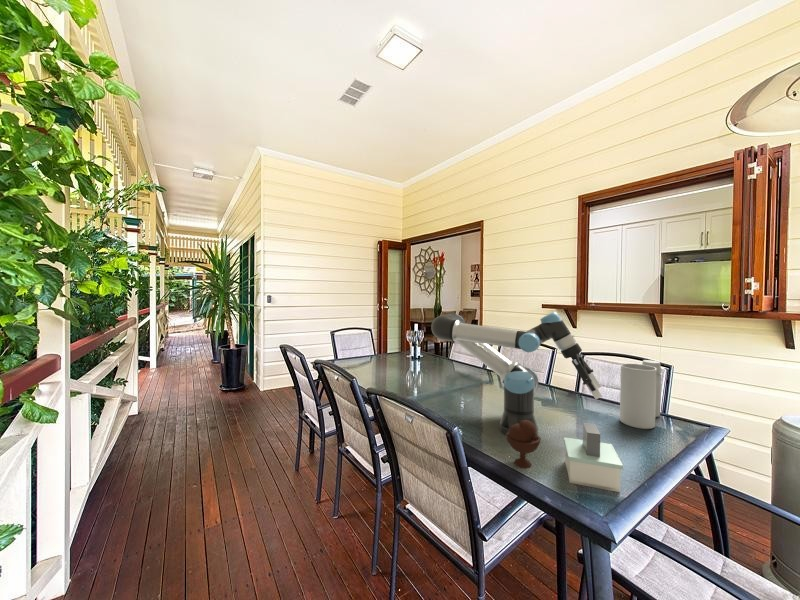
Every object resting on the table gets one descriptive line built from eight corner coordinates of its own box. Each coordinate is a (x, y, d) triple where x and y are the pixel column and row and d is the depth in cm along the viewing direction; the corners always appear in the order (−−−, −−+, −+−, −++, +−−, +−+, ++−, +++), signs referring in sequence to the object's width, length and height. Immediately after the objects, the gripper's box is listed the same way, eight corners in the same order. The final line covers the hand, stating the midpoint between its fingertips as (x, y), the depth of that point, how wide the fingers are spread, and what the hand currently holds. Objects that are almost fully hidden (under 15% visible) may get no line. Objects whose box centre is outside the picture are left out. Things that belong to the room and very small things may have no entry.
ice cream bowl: (531, 455, 117) (531, 413, 117) (546, 472, 106) (546, 426, 105) (501, 455, 117) (501, 413, 116) (513, 473, 106) (513, 427, 105)
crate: (569, 482, 100) (570, 460, 100) (565, 461, 113) (565, 441, 112) (620, 492, 96) (620, 468, 96) (609, 469, 108) (610, 448, 108)
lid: (568, 463, 100) (568, 433, 100) (563, 443, 113) (564, 417, 113) (622, 472, 95) (623, 441, 95) (611, 450, 108) (612, 422, 108)
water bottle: (655, 412, 157) (656, 360, 156) (663, 418, 149) (665, 363, 149) (633, 410, 159) (634, 359, 159) (640, 416, 152) (641, 362, 151)
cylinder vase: (640, 431, 136) (641, 371, 136) (612, 419, 148) (614, 364, 148) (662, 427, 140) (663, 369, 139) (634, 416, 152) (635, 362, 151)
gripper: (575, 347, 127) (609, 398, 122) (578, 337, 149) (606, 380, 144) (557, 356, 130) (589, 406, 126) (562, 345, 152) (589, 387, 147)
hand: (598, 392), depth 135 cm, fingers open, 13 cm apart
